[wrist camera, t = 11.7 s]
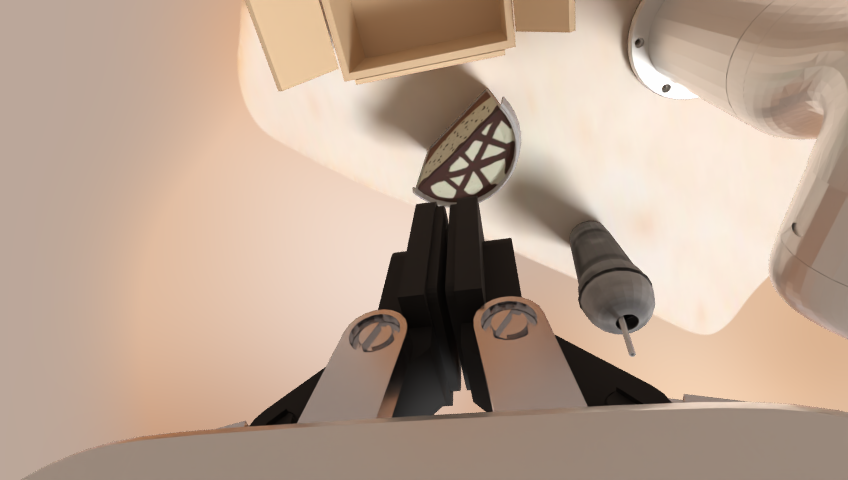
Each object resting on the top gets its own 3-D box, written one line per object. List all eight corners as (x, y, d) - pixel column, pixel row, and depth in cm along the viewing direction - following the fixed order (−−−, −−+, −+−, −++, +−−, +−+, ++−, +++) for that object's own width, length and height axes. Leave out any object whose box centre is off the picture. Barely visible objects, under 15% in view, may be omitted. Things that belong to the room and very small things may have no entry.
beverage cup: (594, 268, 56) (650, 397, 40) (546, 247, 55) (582, 370, 38) (631, 225, 53) (709, 347, 36) (580, 201, 51) (637, 316, 35)
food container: (457, 191, 52) (456, 235, 44) (419, 158, 50) (410, 197, 42) (537, 117, 47) (553, 150, 38) (497, 76, 45) (505, 102, 36)
